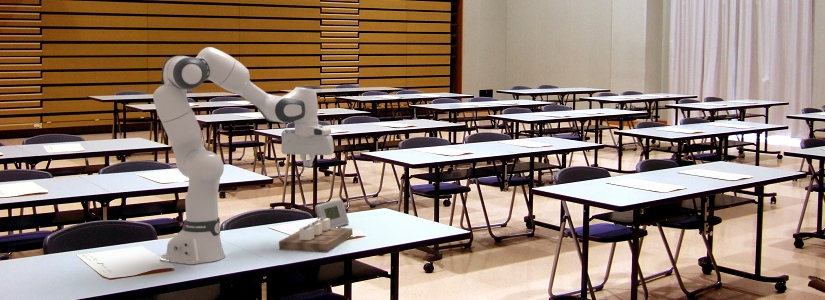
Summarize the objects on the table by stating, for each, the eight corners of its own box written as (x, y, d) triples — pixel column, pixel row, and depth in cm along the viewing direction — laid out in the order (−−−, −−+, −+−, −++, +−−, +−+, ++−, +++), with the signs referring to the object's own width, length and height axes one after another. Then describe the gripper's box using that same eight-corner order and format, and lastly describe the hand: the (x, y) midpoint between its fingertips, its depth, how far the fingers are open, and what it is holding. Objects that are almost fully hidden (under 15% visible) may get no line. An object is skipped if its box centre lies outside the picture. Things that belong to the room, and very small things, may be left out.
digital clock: (323, 232, 337) (322, 206, 335) (309, 229, 343) (308, 203, 342) (354, 225, 348) (353, 200, 346) (340, 222, 354) (339, 197, 353)
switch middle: (308, 234, 318) (308, 222, 317) (312, 232, 322) (312, 220, 321) (318, 235, 317) (317, 223, 316) (322, 233, 321) (321, 221, 320)
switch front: (299, 239, 310) (299, 227, 310) (304, 237, 314) (303, 225, 314) (309, 240, 309) (309, 228, 309) (314, 237, 313) (313, 225, 313)
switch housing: (279, 249, 310) (278, 241, 310) (307, 233, 335) (307, 225, 334) (327, 252, 305) (327, 243, 304) (352, 235, 329) (352, 227, 329)
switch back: (316, 230, 326) (316, 218, 325) (320, 228, 329) (320, 216, 329) (326, 230, 325) (326, 219, 324) (330, 228, 328) (329, 216, 328)
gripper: (277, 130, 315) (279, 167, 317) (328, 131, 309) (329, 168, 311) (284, 128, 321) (286, 164, 323) (335, 129, 315) (336, 165, 317)
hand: (308, 166), depth 317 cm, fingers closed
